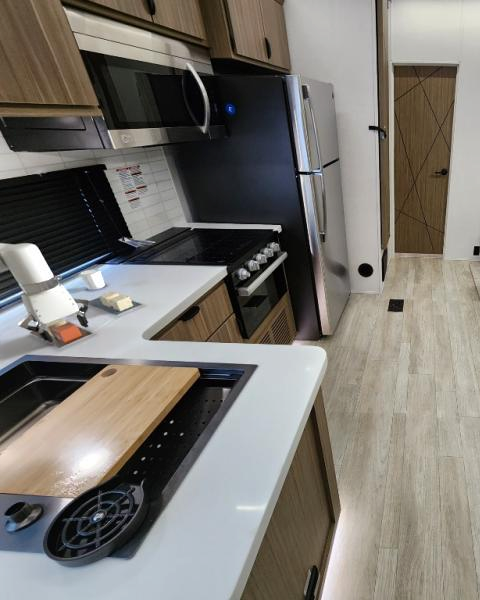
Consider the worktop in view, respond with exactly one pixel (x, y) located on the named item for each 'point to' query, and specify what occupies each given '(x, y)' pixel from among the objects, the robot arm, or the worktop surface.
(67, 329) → the orange cube
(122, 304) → the back tile
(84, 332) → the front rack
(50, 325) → the front cream tile
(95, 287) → the white cup
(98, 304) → the grey flat plate
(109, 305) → the back tile
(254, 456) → the worktop surface
